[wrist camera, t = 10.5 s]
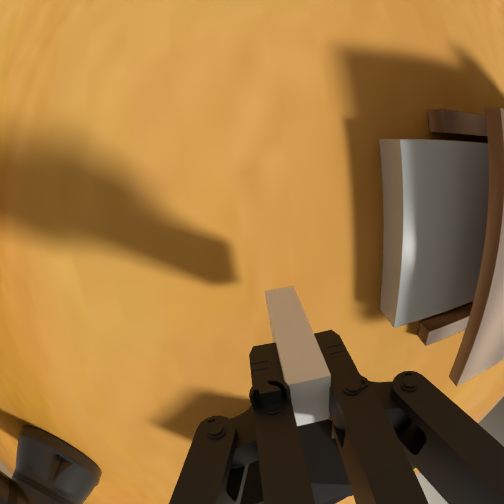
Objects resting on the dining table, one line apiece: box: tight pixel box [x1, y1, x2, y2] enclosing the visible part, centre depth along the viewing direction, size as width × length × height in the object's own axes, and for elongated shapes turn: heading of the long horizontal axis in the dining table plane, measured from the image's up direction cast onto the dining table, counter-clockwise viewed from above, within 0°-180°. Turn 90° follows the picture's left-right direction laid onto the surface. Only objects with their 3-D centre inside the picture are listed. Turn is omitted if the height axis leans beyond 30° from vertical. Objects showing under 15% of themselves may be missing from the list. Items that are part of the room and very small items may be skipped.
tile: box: [379, 139, 489, 328], centre depth 16 cm, size 16×12×3 cm
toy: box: [240, 419, 417, 504], centre depth 25 cm, size 16×9×30 cm
